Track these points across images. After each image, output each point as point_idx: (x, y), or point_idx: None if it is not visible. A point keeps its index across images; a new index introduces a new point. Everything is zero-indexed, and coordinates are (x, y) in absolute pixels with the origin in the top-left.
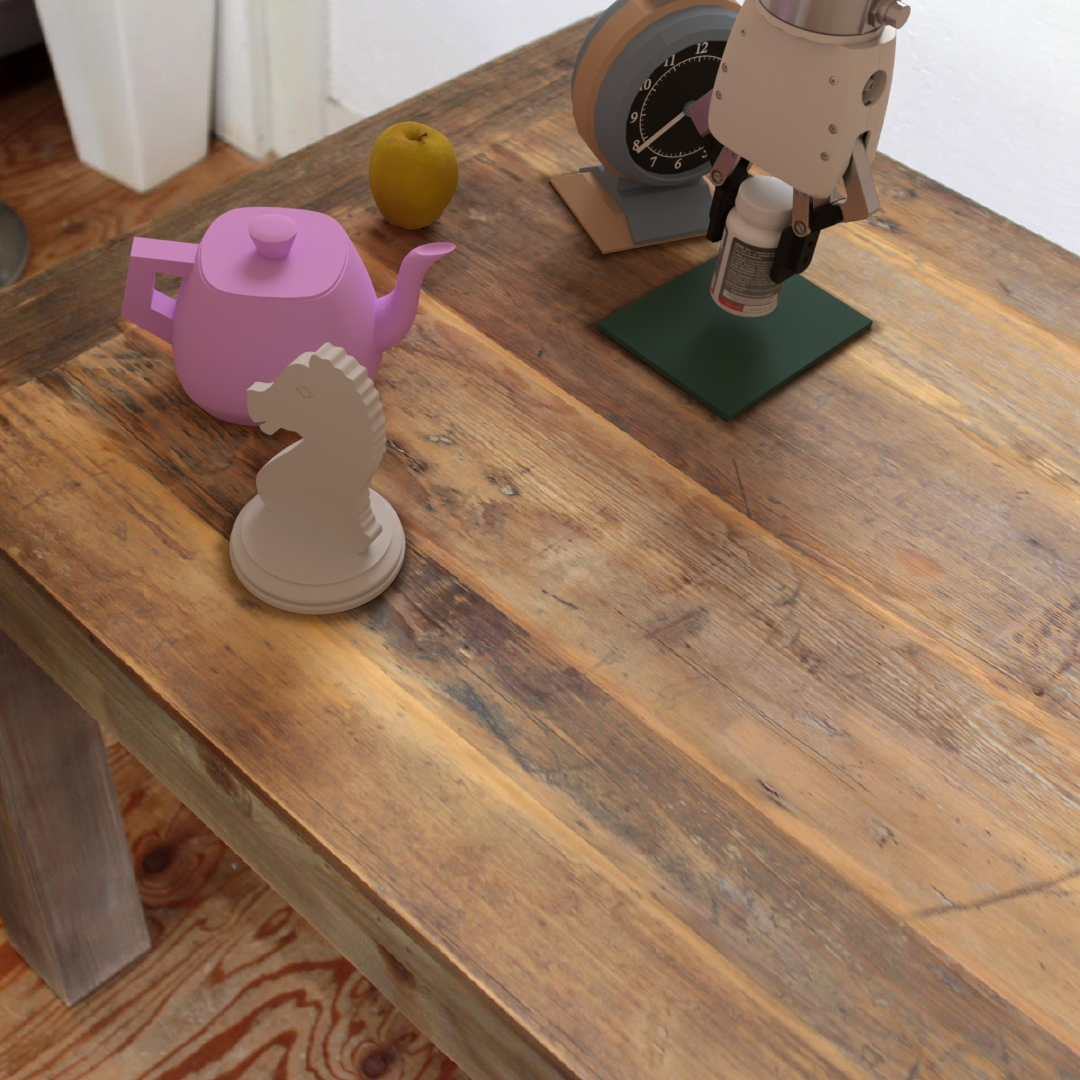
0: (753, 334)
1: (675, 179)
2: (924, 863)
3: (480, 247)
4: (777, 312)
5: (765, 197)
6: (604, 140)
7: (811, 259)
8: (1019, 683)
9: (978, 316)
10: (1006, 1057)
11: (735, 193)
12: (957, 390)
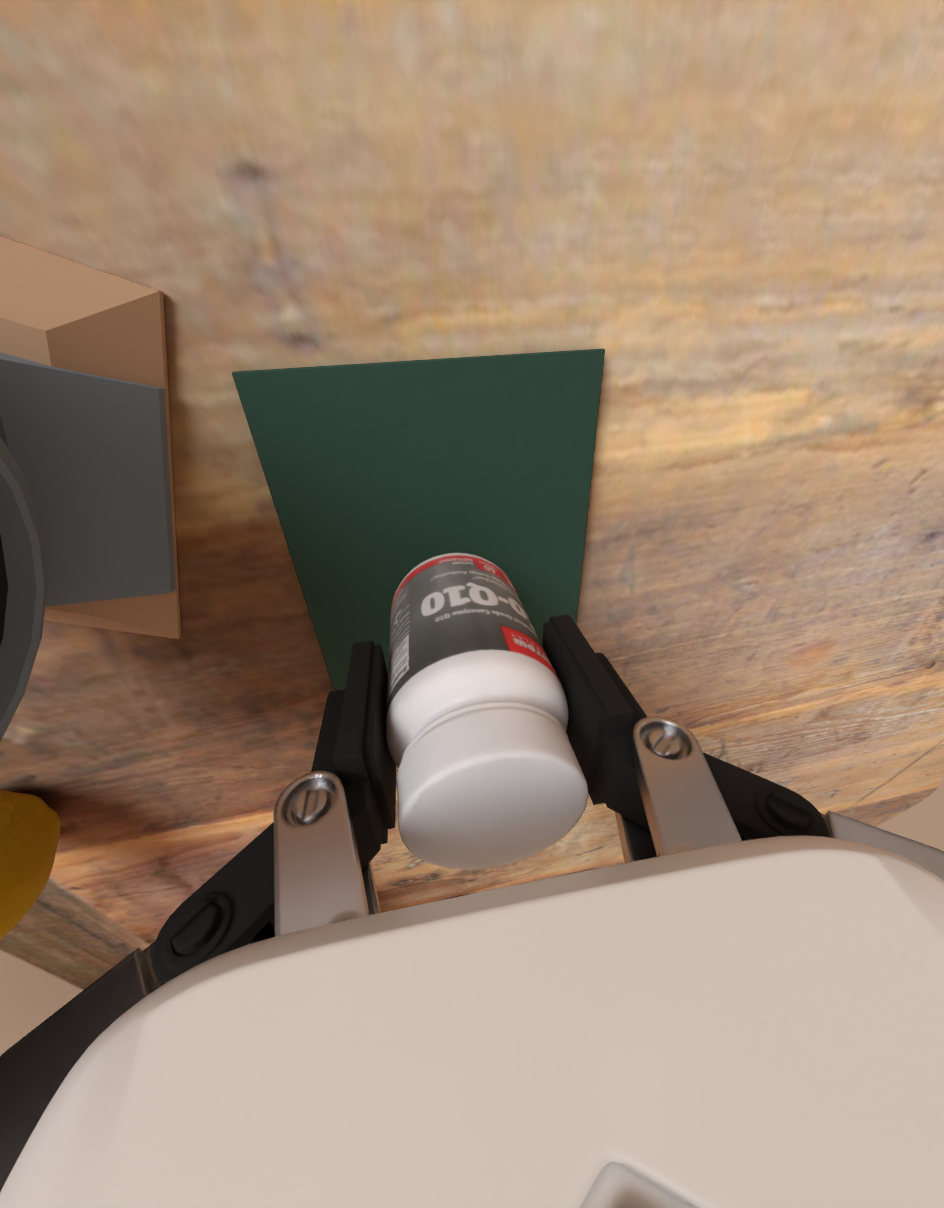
0: None
1: (35, 555)
2: (858, 786)
3: (113, 757)
4: (469, 505)
5: (504, 835)
6: None
7: (606, 659)
8: (914, 671)
9: None
10: (909, 806)
11: (387, 795)
12: (797, 360)
